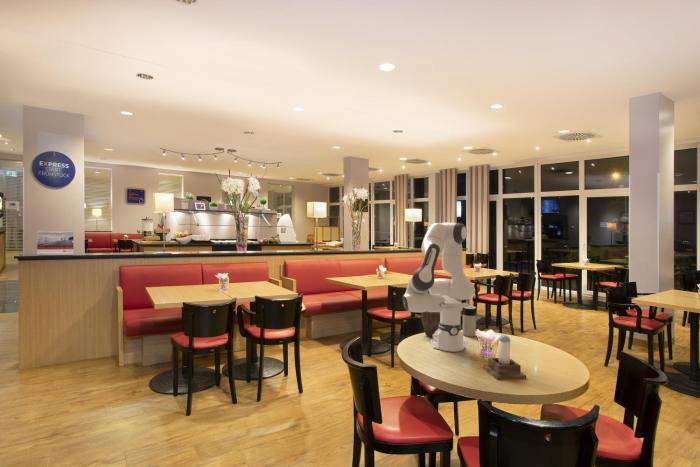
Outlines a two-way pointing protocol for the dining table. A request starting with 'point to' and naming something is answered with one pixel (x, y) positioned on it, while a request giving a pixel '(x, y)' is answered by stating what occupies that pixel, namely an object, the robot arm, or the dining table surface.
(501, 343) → the white bottle
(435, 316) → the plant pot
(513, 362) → the cradle
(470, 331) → the travel mug
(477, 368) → the dining table surface
